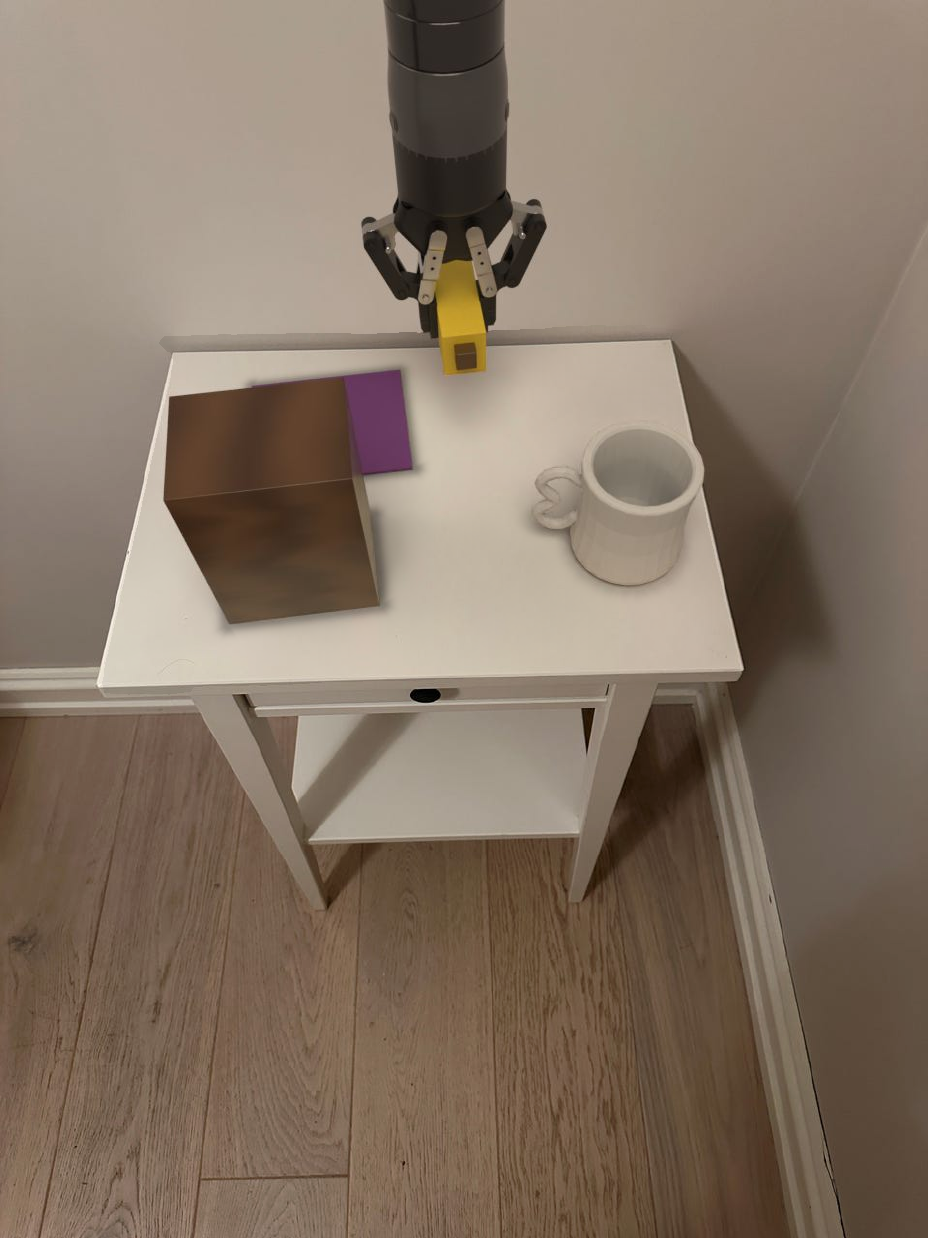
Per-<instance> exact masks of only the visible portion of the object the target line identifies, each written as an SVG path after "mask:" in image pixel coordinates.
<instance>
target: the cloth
mask: <svg viewBox="0 0 928 1238" xmlns="http://www.w3.org/2000/svg"><path fill="white" fill-rule="evenodd" d="M341 377H344V379H345V385H346V390H347V395H348V400H349V405H350V410H351V415H352V420H353V426H354V431H355V436H356V441H357V446H358V451H359V456H360V461H361V466H362V472H363V476H367V475H377V474H384V473H386V474H387V473H392V472H401V471H411V470H413V469H414V468H413V462H412V461H413V460H412V454H411V452H412V451H411V445H410V438H409V430H408V422H407V421H408V420H407V415H406V413H407V412H406V406H405V397H404V391H403V382H402V375H401V369H400V368H399V369H389V370H381V371H373V372H365V373H355V374H348V375H347V374H346V375H338V376H328V377H327V376H326V377H320V378H319V377H318V378H310V379H301V380H293V381H282V382H273V383H265V384H256V385H251V387H260V386H269V385H278V384H287V383H296V382H305V381H314V380H323V379H332V378H341Z"/></svg>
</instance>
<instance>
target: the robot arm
mask: <svg viewBox="0 0 928 1238" xmlns="http://www.w3.org/2000/svg"><path fill="white" fill-rule="evenodd" d="M383 12H384V23H385V33H386V43H387V74H386V75H387V76H386V78H387V80H386V81H387V83H386V84H387V95H388V106H389V107H388V108H389V114H388V117H389V124H390V127H391V135H392V137H391V139H392V147H393V156H394V158H393V159H394V168H395V177H396V186H397V187H396V188H397V196H396V200H395V202H394V204H393V206H392V212H391V213H390V214H388V215H385V216H384V217H383V216H382V217H381V218H380V219H376V218H375V217H374V216H366V217H364V218H363V219H362V220H361V222H360V223H361V224H360V226H361V227H360V228H361V237H362V245H363V249H364V251H365V253H366V254H367V256H368V257H369V258H370V260H371V262H372V263H373V265H374V266H375V268H376V270H377V272H378V273H379V274H380V276H381V277H382V280H384V283H385V284H386V285H387V286H388V289H389V290H390V291H391V293H392V295H393V296H394V298H395V299H396V300H398V301H405V300H407V299H409V298H411V299H414V300H416V301H417V305H418V306H417V307H418V316H419V325H420V329H421V331H422V332H423V334H428V333H429V337H430V338H429V339H430V340H434V339H438V338H439V334H438V319H437V300H436V294H435V288H436V282H437V281H438V280H439V275H440V269H441V264H446V263H449V262H452V261H454V260H461V261H472V264H473V268H474V272H475V274H476V277H477V279H475V280H476V287H477V292H478V297H479V302H480V304H481V309H482V314H483V319H484V324H485V329H486V334H487V333H489V327H491V326H494V325H495V323H496V321H497V294H498V292H499V291H500V290H501V289H503V288H506V287H507V288H508V289H515V288H517V287H519V285H520V284H521V282H522V280H523V278H524V276H525V274H526V272H527V270H528V268H529V266H530V263H531V261H532V260H533V257H534V255H535V254H536V251H537V249H538V247H539V245H540V244H541V241H542V238H543V236H544V235H545V232H546V230H547V227H548V225H547V220H546V218H545V217H546V216H545V214H544V210H543V206H542V203H541V201H540V200H538V199H537V198H532V199H529V200H528V201H527V202H526V203H522V202H518V201H515V200H512V196H511V194H510V192H509V191H508V189H507V163H508V162H507V160H508V159H507V157H508V156H507V155H508V120H509V118H510V117H509V116H510V102H509V101H510V100H509V78H508V68H507V59H506V45H505V44H506V41H505V38H506V36H505V35H506V34H505V33H506V0H383ZM509 222H510V223H511V224H510V226H511V229H512V234H511V236H510V238H509V240H508V242H507V245H506V247H505V249H504V252H503V253H502V256H501V258H500V261H498V262H496V263H494V264H493V263H492V261H491V257H490V252H489V248H490V247H491V245H492V244H493V243H494V241H495V240H496V239H497V238H498V236H499V235H500V234H501V232H502V231H503V230H504V229H505V227H506V226H507V224H508V223H509ZM397 233H400V235H402V237H403V238H404V239H406V241H407V242H408V243H410V245H411V246H413V248H414V249H416V250H417V261H416V267H415V272H412V271H409V270H408V271H407V268H406V267H405V265H404V264H403V262H402V260H401V258H400V257H399V255H398V254H397V252H396V250H395V248H396V245H397V243H396V237H395V236H396V234H397Z"/></svg>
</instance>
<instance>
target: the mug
mask: <svg viewBox="0 0 928 1238" xmlns="http://www.w3.org/2000/svg"><path fill="white" fill-rule="evenodd" d="M704 465H705V464H704V461H703V457H702V455H701V453H700V452H699V450H698V448H697V447H696V445H695V444H694V443H693V441H691V440H690V439H689V437H687V436H686V435H685V434H684V433H682V432H680V431H678V430H676V429H675V428H674V427H672V426H669V425H666V424H664V423H661V422H657V421H652V420H645V419H635V420H633V419H632V420H624V421H621V422H618V423H613V424H611V425H609V426H607V427H606V428H603V429H601V430H600V431H598V432H597V433H596V434H595V435H594V436H593V437H592V438H591V439H590V440H589V442H588V443H587V444H586V447H585V449H584V450H583V454H582V459H581V463H580V471H581V472H578V471H577V470H576V469H574V468H573V467H570V466H567V465H554V466H552V467H549V468H546V469H544V470H543V471H542V472H540V473H539V474H538V475H537V476H536V478H535V481H534V485H535V488H536V490H537V492H538V493H539V494H540V495H541V496H542V497H543V498H545V499H543V500H541V501H538V502H537V503H535V504H534V505H533V506H532V509H531V516H532V518H533V519H534V520H535V522H536V523H538V524H540V526H543V527H544V528H548V529H551V530H564V529H566V528H569V527H570V529H569V530H570V531H569V535H570V544H571V549H572V551H573V553H574V556H575V557H576V560H577V561H578V562H579V563H580V564H581V566H582V567H583V568H584V569H585V570H586V571H588V572H589V573H590V574H592V575H593V576H595V578H598V579H600V580H603V581H604V582H605V581H606V582H608V583H610V584H614V585H615V584H616V585H621V586H639V585H643V584H648V583H650V582H653V581H656V580H657V579H659V578H661V577H662V576H664V575H666V574H667V573H668V571H669V570H670V569H671V568H672V567H673V566H674V565H675V564H676V562H677V560H678V558H679V556H680V553H681V552H682V546H683V540H684V533H685V526H686V522H687V519H688V516H689V512H690V509H691V507H692V506H693V504H694V502H695V500H696V499H697V497H698V494H699V492H700V490H701V488H702V486H703V484H704V479H705V478H704V477H705V470H706V469H705V466H704ZM557 479H559V480H560V479H564V480H567V481H568V482H570V483H571V484H572V485H575V486H577V487H579V488H581V490H580V495H579V501H578V502H577V503H578V504H577V506H576V509H575V510H572V511H569V513H567V514H566V515H565V516H562V517H557V518H556V517H552V516H550V515H548V514H546V512H549V511H551V510H553V509H555V508H556V507H557V506H558V505H559V504H560V503H561V501H562V497H561V494H560V492H559V491H558V490H556V489H555V488H553V487H552V486H551V485H550V484H548V483H549V482H552V481H554V480H557Z"/></svg>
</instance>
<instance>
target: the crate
mask: <svg viewBox="0 0 928 1238" xmlns="http://www.w3.org/2000/svg"><path fill="white" fill-rule="evenodd" d="M167 409H168V410H167V428H166V443H165V444H166V445H165V463H164V479H163V480H164V482H163V497H162V499H163V500H162V501H163V503H164V504H165V506H166V509H167V510H168V513H169V514H170V516H171V517H172V519H173V521H174V523H175V525H176V527H177V530H178V531H179V532H180V535H181V536H182V538H183V540H184V542H185V544H186V546H187V548H188V551H190V553H191V555H192V557H193V559H194V561H195V563H196V565H197V567H198V569H199V570H200V572H201V573H202V576H203V578H204V579H205V581H206V584H207V586H209V589H210V591H211V592H212V595H213V596H214V598H215V600H216V602H217V604H218V606H219V608H220V609H221V612H222V613H223V616H224V617H225V619H226V621H227V623H228V624H229V625H233V624H241V623H249V622H258V621H266V620H275V619H283V618H290V617H297V616H299V617H300V616H307V615H314V614H323V613H331V612H339V611H340V612H341V611H347V610H355V609H363V608H364V609H365V608H372V607H379V606H380V597H379V595H380V594H379V585H378V575H377V563H376V553H375V543H374V532H373V531H374V530H373V522H372V521H373V520H372V514H371V509H370V503H369V498H368V492H367V487H366V484H365V483H366V482H365V477H364V475H363V472H362V466H361V461H360V456H359V451H358V446H357V441H356V436H355V431H354V426H353V420H352V415H351V410H350V405H349V400H348V395H347V390H346V385H345V379H344V377H341V378H332V379H323V380H314V381H305V382H296V383H287V384H278V385H269V386H260V387H252V386H250V387H243V388H233V389H225V390H224V389H223V390H215V391H205V392H198V393H188V394H180V395H171V396H168V408H167Z"/></svg>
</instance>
